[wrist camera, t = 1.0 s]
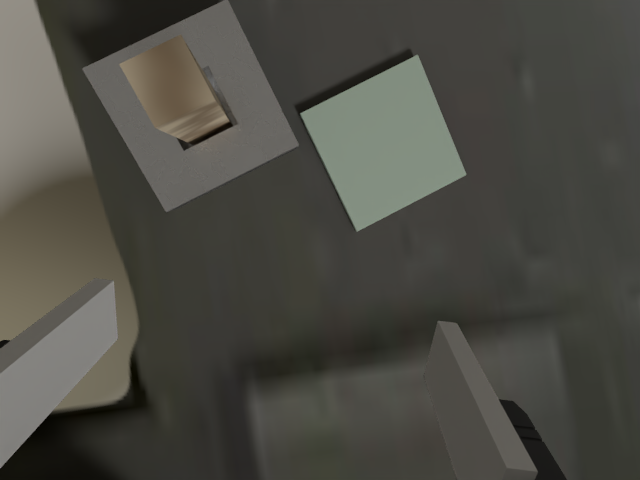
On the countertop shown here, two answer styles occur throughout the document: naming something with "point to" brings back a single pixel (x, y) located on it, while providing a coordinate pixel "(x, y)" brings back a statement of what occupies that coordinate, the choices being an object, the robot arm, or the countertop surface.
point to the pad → (384, 143)
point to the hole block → (234, 94)
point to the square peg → (176, 92)
